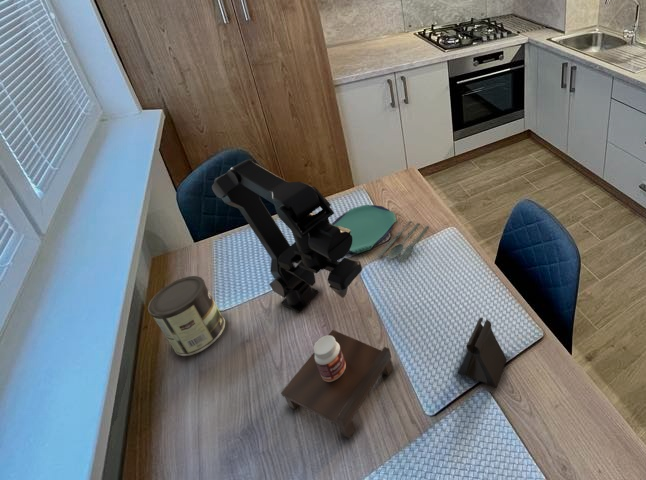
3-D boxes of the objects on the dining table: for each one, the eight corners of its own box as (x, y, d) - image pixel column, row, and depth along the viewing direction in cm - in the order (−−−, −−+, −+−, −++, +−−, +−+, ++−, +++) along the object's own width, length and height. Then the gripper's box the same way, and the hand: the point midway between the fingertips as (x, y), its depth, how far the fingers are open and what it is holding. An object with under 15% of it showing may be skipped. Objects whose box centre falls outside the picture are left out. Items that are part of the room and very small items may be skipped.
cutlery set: (359, 203, 138) (358, 198, 137) (434, 226, 127) (433, 220, 126) (313, 245, 121) (311, 239, 120) (395, 275, 110) (393, 269, 109)
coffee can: (209, 309, 103) (187, 269, 97) (234, 324, 99) (214, 284, 93) (163, 345, 95) (137, 305, 88) (190, 364, 91) (164, 323, 84)
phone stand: (506, 360, 89) (504, 324, 84) (496, 388, 84) (493, 352, 79) (470, 347, 92) (465, 312, 87) (457, 373, 87) (452, 337, 82)
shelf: (287, 407, 82) (277, 387, 79) (337, 343, 94) (330, 323, 91) (349, 440, 77) (341, 420, 73) (394, 368, 88) (389, 348, 85)
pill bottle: (337, 384, 81) (327, 359, 77) (316, 380, 82) (306, 354, 78) (350, 360, 85) (342, 335, 81) (330, 356, 86) (321, 331, 82)
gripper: (371, 224, 90) (383, 274, 96) (308, 205, 96) (323, 253, 103) (334, 262, 80) (351, 314, 87) (267, 238, 87) (287, 289, 93)
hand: (328, 290), depth 93 cm, fingers open, 9 cm apart
